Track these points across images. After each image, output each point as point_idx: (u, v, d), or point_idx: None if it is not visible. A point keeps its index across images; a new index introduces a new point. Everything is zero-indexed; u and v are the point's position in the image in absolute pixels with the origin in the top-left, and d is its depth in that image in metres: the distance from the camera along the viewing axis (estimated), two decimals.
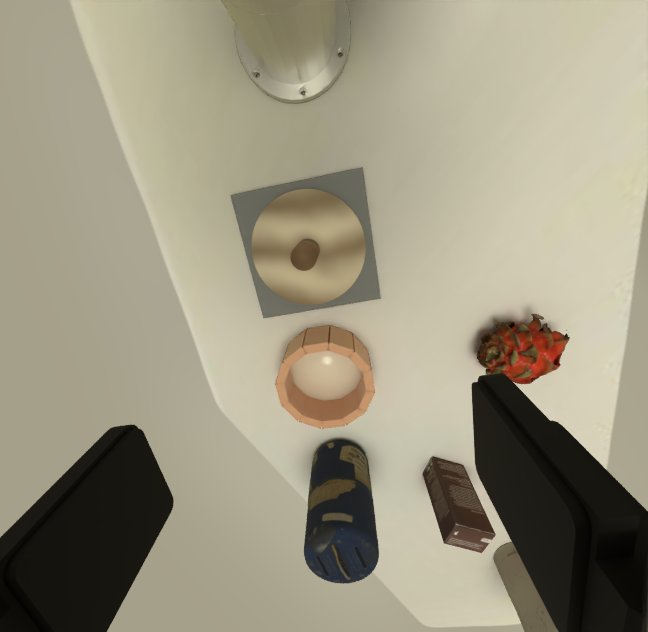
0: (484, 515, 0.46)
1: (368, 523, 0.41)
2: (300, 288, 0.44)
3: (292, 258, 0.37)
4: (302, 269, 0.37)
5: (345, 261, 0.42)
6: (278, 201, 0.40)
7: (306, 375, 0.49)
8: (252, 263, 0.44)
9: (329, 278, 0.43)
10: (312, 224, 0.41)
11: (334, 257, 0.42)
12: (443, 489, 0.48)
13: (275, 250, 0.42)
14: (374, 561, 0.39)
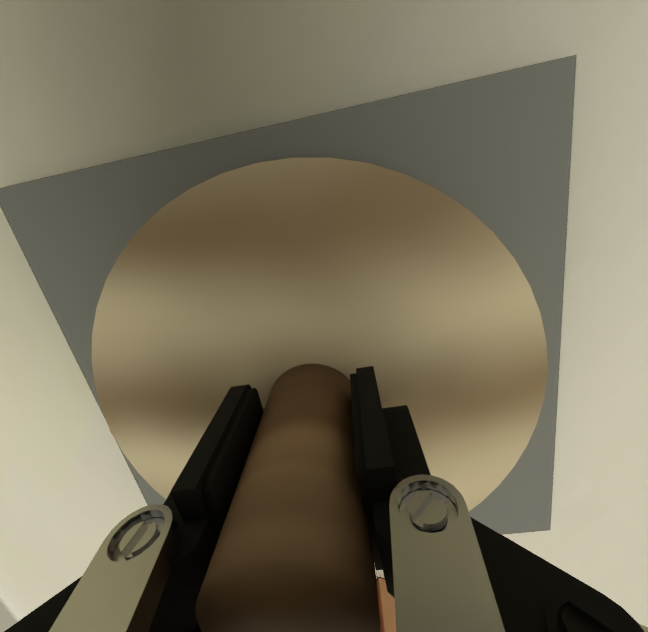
0: None
1: None
2: None
3: (211, 621, 0.05)
4: None
5: (455, 441, 0.11)
6: (182, 216, 0.09)
7: None
8: None
9: None
10: (331, 312, 0.10)
11: None
12: None
13: (188, 401, 0.11)
14: None
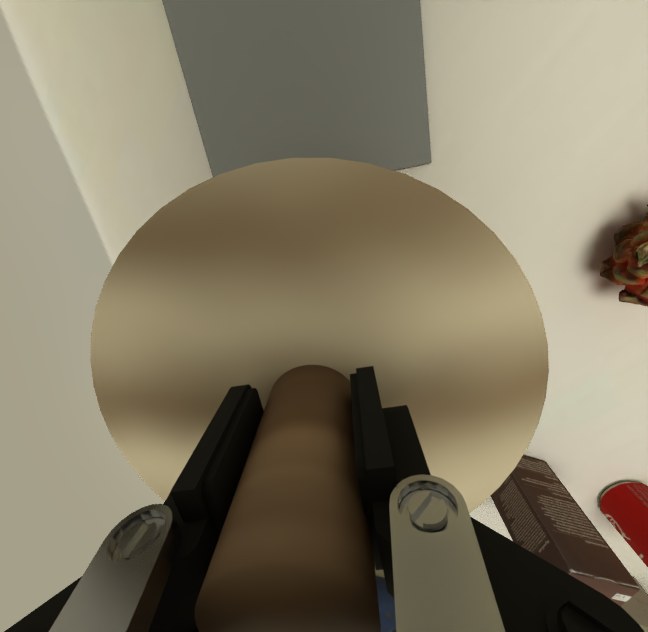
0: (608, 549, 0.26)
1: None
2: None
3: (210, 625, 0.05)
4: None
5: (456, 442, 0.11)
6: (181, 217, 0.09)
7: None
8: (195, 92, 0.24)
9: None
10: (331, 313, 0.10)
11: None
12: (530, 503, 0.29)
13: (187, 403, 0.11)
14: None
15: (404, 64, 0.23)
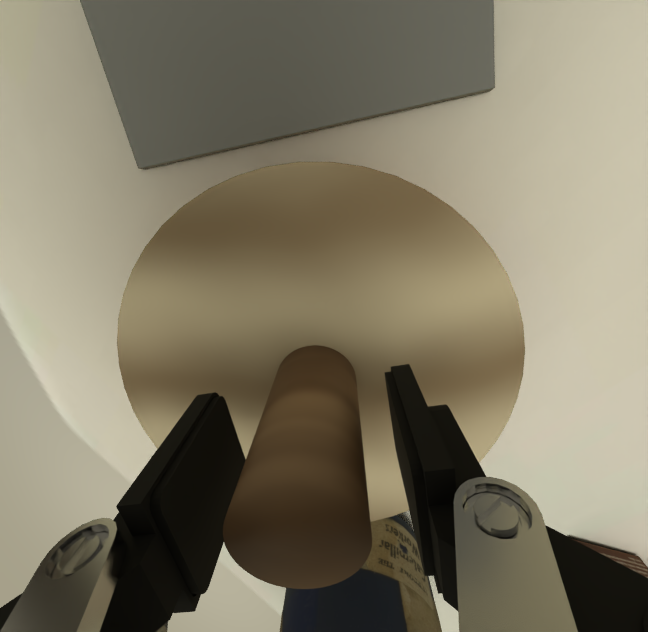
0: None
1: None
2: None
3: (235, 540, 0.07)
4: (292, 583, 0.07)
5: None
6: (201, 213, 0.10)
7: None
8: None
9: (386, 462, 0.13)
10: (332, 298, 0.11)
11: None
12: None
13: (203, 380, 0.12)
14: None
15: None
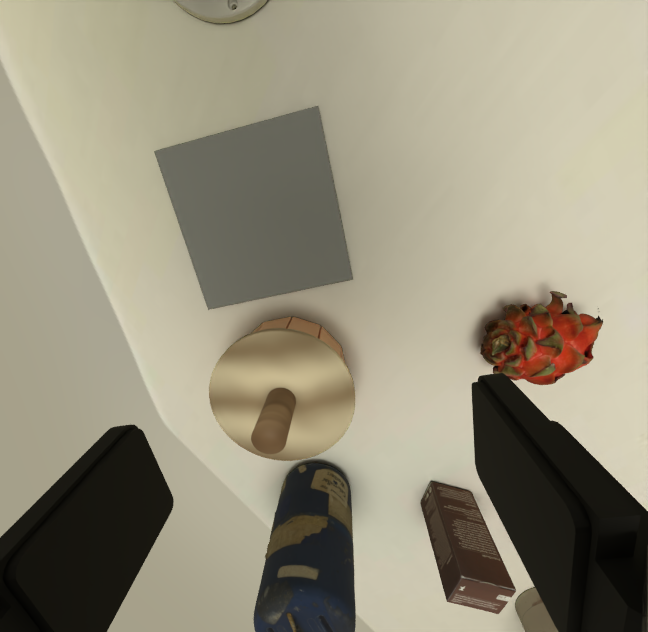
0: (500, 561, 0.35)
1: (341, 578, 0.30)
2: None
3: (254, 440, 0.27)
4: (268, 452, 0.28)
5: (329, 412, 0.33)
6: (240, 346, 0.31)
7: None
8: (188, 239, 0.35)
9: (311, 431, 0.34)
10: (284, 371, 0.32)
11: (315, 408, 0.33)
12: (445, 526, 0.37)
13: (240, 401, 0.33)
14: None
15: (327, 220, 0.34)
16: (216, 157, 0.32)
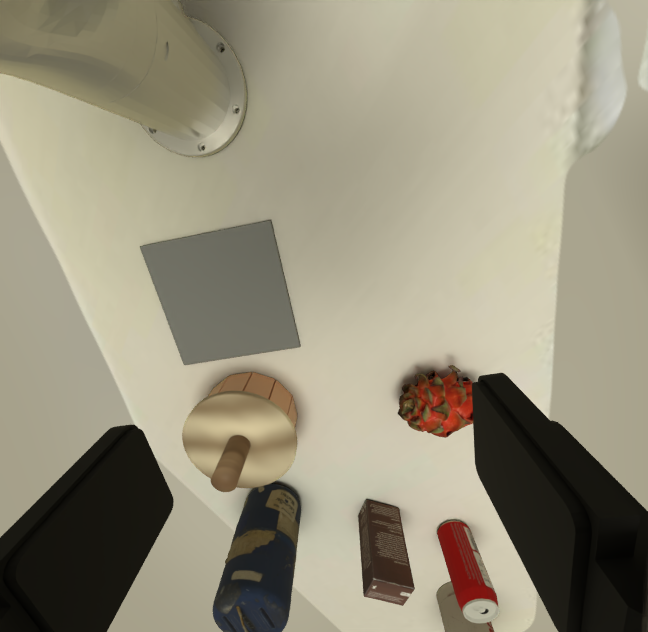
0: (407, 566, 0.45)
1: (279, 580, 0.40)
2: None
3: (213, 482, 0.37)
4: (223, 490, 0.37)
5: (277, 454, 0.42)
6: (206, 404, 0.40)
7: None
8: (167, 312, 0.43)
9: (262, 467, 0.43)
10: (241, 423, 0.41)
11: (265, 450, 0.42)
12: (369, 538, 0.48)
13: (206, 443, 0.42)
14: (282, 621, 0.39)
15: (279, 303, 0.42)
16: (190, 253, 0.41)
